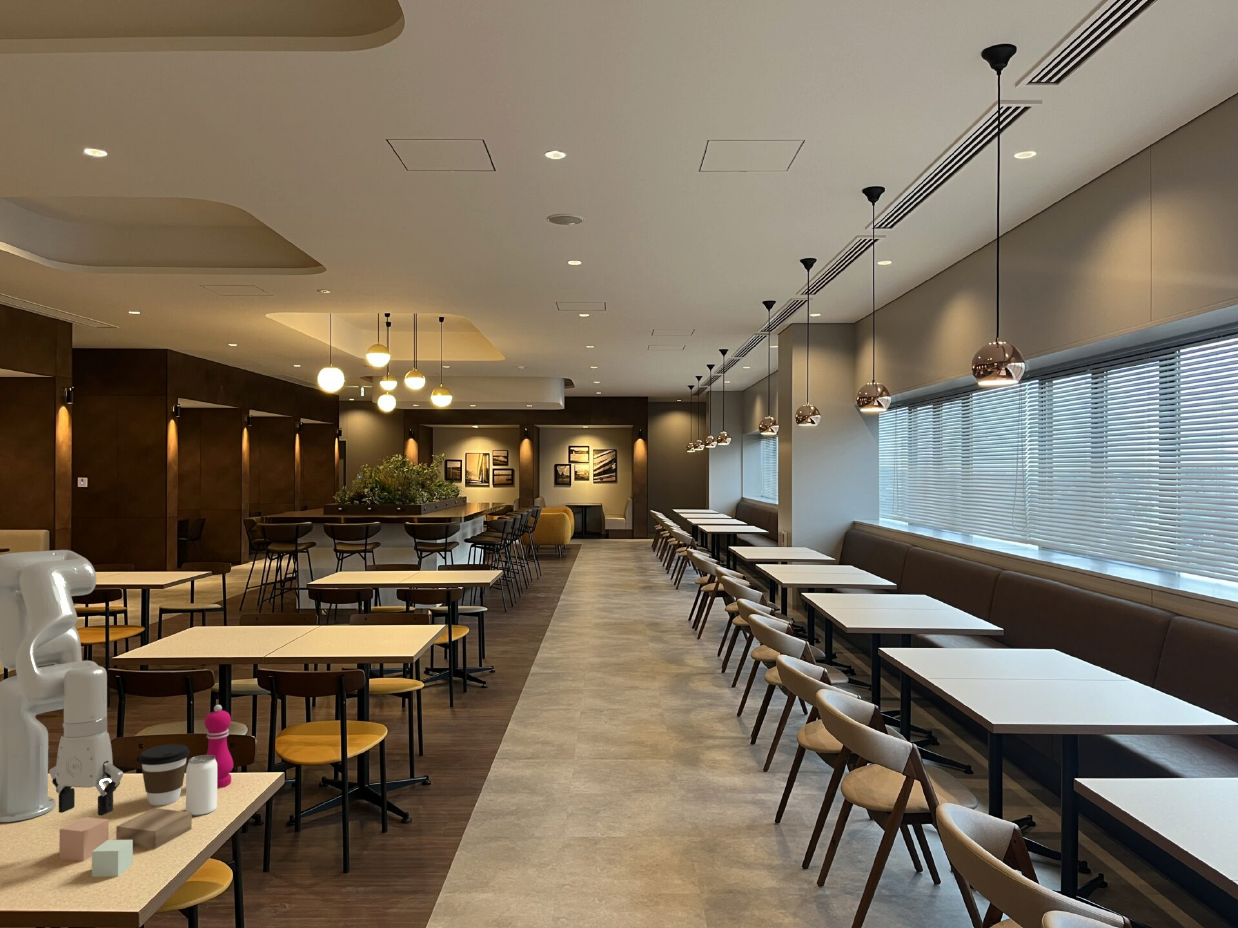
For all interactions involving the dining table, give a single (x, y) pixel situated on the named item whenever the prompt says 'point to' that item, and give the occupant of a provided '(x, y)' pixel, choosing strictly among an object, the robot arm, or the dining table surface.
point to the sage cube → (112, 858)
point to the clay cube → (82, 838)
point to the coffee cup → (164, 772)
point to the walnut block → (155, 827)
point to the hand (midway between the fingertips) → (86, 811)
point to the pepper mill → (219, 744)
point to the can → (201, 785)
